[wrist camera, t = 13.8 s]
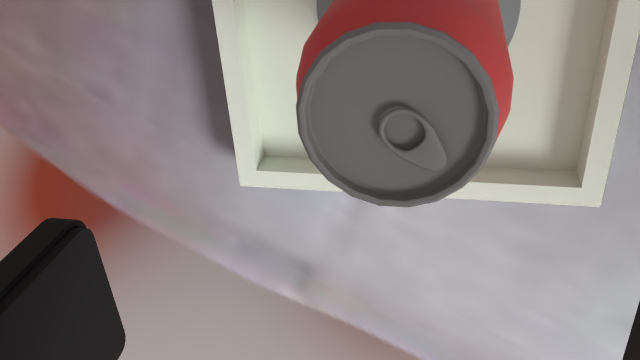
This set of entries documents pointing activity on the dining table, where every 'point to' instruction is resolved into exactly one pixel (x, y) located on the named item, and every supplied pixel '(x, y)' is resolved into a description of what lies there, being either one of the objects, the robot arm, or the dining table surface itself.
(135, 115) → the dining table surface
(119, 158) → the dining table surface
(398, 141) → the beer can
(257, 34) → the coaster tray
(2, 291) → the robot arm
